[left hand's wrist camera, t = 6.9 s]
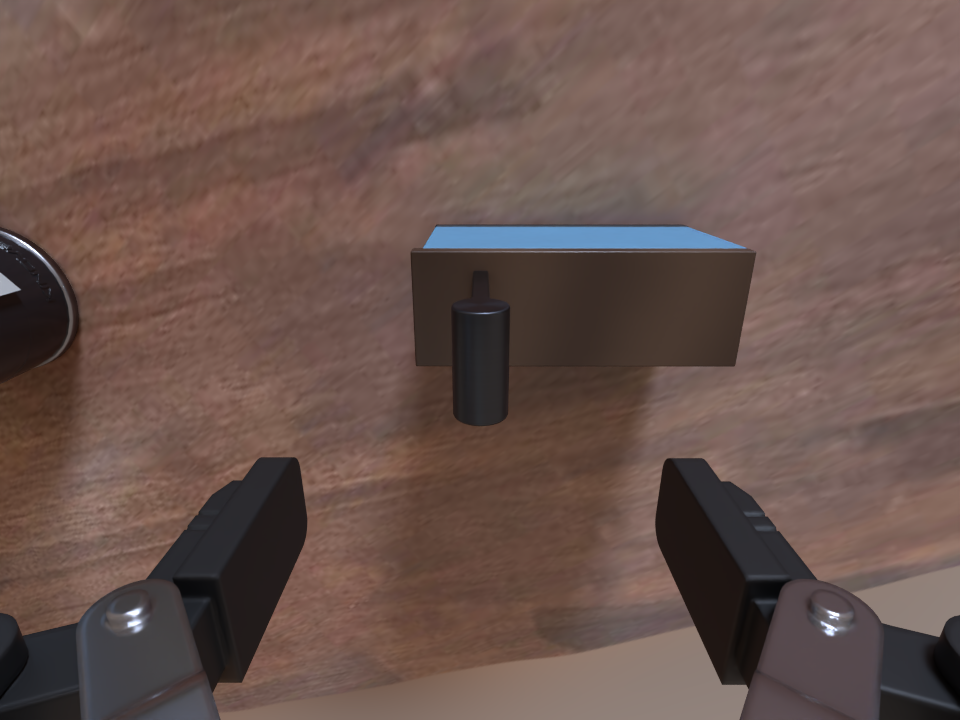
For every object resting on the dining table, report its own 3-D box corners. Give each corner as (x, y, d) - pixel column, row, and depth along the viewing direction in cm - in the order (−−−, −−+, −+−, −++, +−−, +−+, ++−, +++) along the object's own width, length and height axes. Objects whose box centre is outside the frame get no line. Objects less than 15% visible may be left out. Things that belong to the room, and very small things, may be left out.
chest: (439, 312, 35) (426, 360, 27) (436, 224, 33) (422, 247, 25) (671, 312, 35) (727, 360, 27) (683, 224, 33) (747, 247, 25)
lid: (417, 360, 27) (392, 444, 19) (412, 247, 25) (381, 291, 17) (727, 360, 27) (828, 445, 19) (748, 248, 25) (870, 291, 17)
